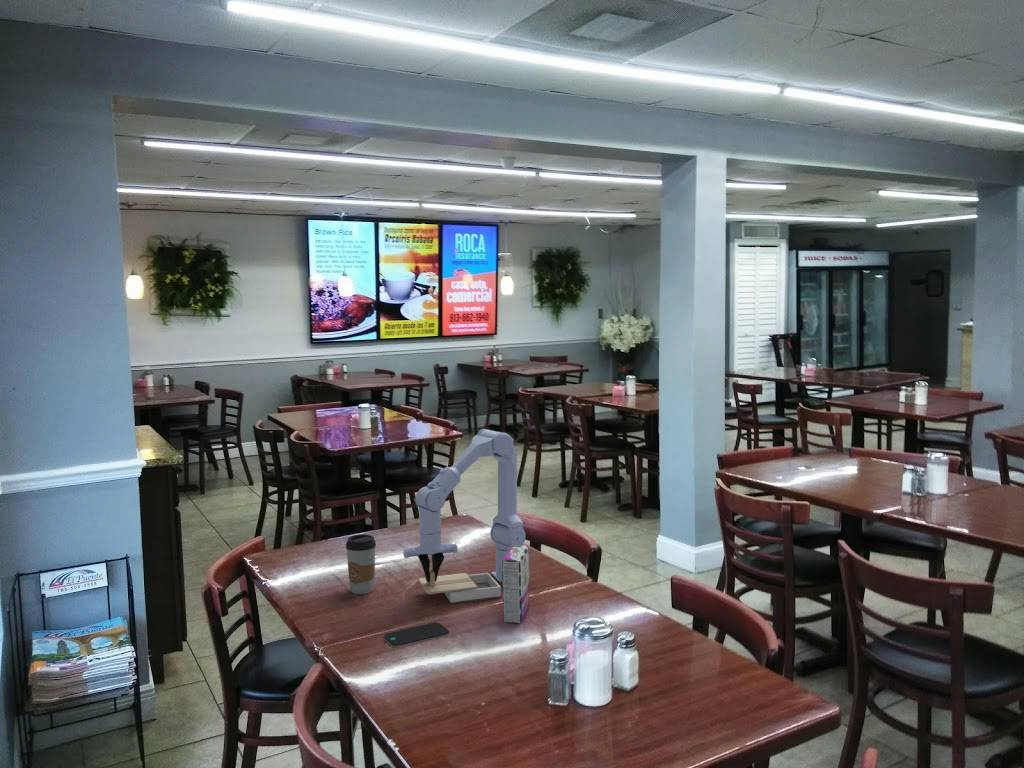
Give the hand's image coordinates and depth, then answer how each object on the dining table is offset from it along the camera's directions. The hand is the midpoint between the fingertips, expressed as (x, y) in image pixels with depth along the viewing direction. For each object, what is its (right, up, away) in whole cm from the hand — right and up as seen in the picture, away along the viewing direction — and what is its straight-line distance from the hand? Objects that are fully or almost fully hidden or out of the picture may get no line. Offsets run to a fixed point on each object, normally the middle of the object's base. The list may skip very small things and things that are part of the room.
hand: (431, 580), depth 214 cm
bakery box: (+10, -4, +4) cm, 12 cm away
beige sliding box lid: (+4, -1, +2) cm, 5 cm away
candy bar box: (+23, -6, -12) cm, 27 cm away
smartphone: (-1, -8, -24) cm, 25 cm away
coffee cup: (-20, -5, +7) cm, 22 cm away
